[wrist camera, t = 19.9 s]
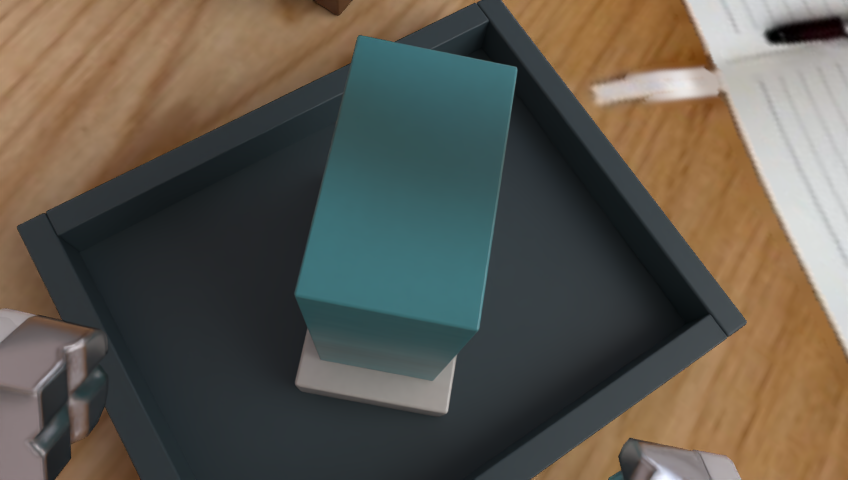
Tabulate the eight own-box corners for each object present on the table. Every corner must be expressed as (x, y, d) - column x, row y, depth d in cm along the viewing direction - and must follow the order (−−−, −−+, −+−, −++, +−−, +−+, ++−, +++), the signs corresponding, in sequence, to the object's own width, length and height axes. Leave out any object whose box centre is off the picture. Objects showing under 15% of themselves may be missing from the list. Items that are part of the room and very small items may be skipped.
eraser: (441, 418, 18) (503, 384, 10) (298, 391, 18) (249, 337, 10) (475, 204, 20) (549, 38, 12) (348, 178, 20) (339, -6, 12)
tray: (257, 657, 17) (242, 687, 15) (53, 251, 20) (15, 225, 17) (708, 337, 21) (749, 322, 18) (483, 35, 23) (496, -9, 21)
